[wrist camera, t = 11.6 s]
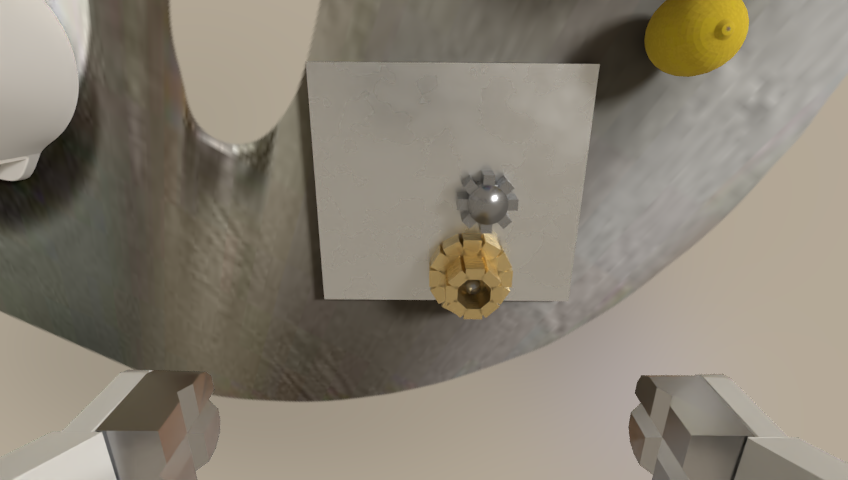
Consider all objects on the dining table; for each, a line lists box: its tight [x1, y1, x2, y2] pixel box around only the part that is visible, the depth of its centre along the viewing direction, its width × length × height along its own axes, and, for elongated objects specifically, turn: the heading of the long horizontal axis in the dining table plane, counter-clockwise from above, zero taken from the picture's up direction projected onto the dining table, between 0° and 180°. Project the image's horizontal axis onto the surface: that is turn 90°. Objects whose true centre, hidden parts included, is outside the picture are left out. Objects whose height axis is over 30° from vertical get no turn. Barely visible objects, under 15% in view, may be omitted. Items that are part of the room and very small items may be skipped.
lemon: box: [644, 0, 749, 77], centre depth 31 cm, size 6×6×8 cm
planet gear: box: [429, 233, 513, 319], centre depth 39 cm, size 7×7×5 cm
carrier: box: [306, 62, 600, 301], centre depth 37 cm, size 22×20×5 cm
